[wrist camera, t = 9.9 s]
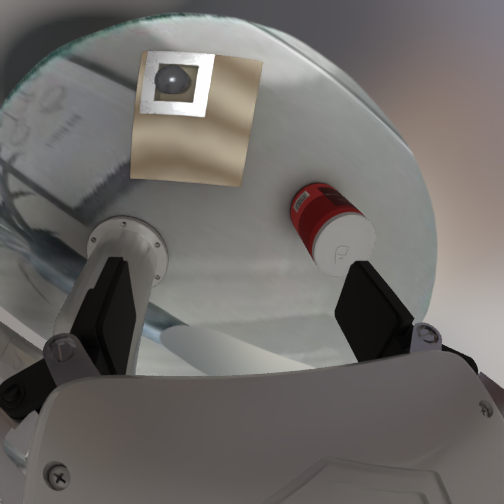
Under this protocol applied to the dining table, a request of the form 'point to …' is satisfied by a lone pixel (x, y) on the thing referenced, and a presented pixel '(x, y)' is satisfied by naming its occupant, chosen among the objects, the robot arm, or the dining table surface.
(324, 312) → the dining table surface
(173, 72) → the pin
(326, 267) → the canned food
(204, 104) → the collar
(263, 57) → the dining table surface
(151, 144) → the board
